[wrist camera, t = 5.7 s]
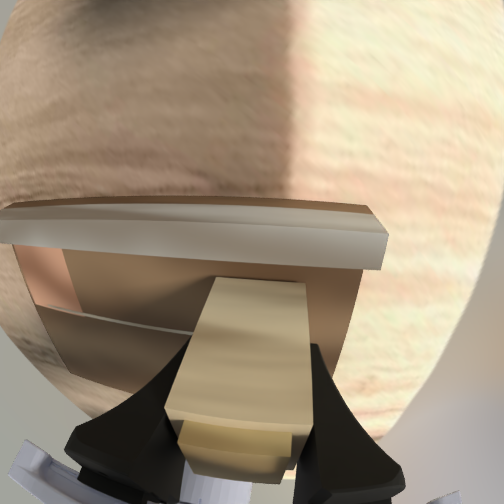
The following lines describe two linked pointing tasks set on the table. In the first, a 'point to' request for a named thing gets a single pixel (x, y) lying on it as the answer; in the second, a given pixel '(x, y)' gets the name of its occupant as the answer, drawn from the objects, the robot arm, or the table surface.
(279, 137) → the table surface
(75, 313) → the board
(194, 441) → the tan block
